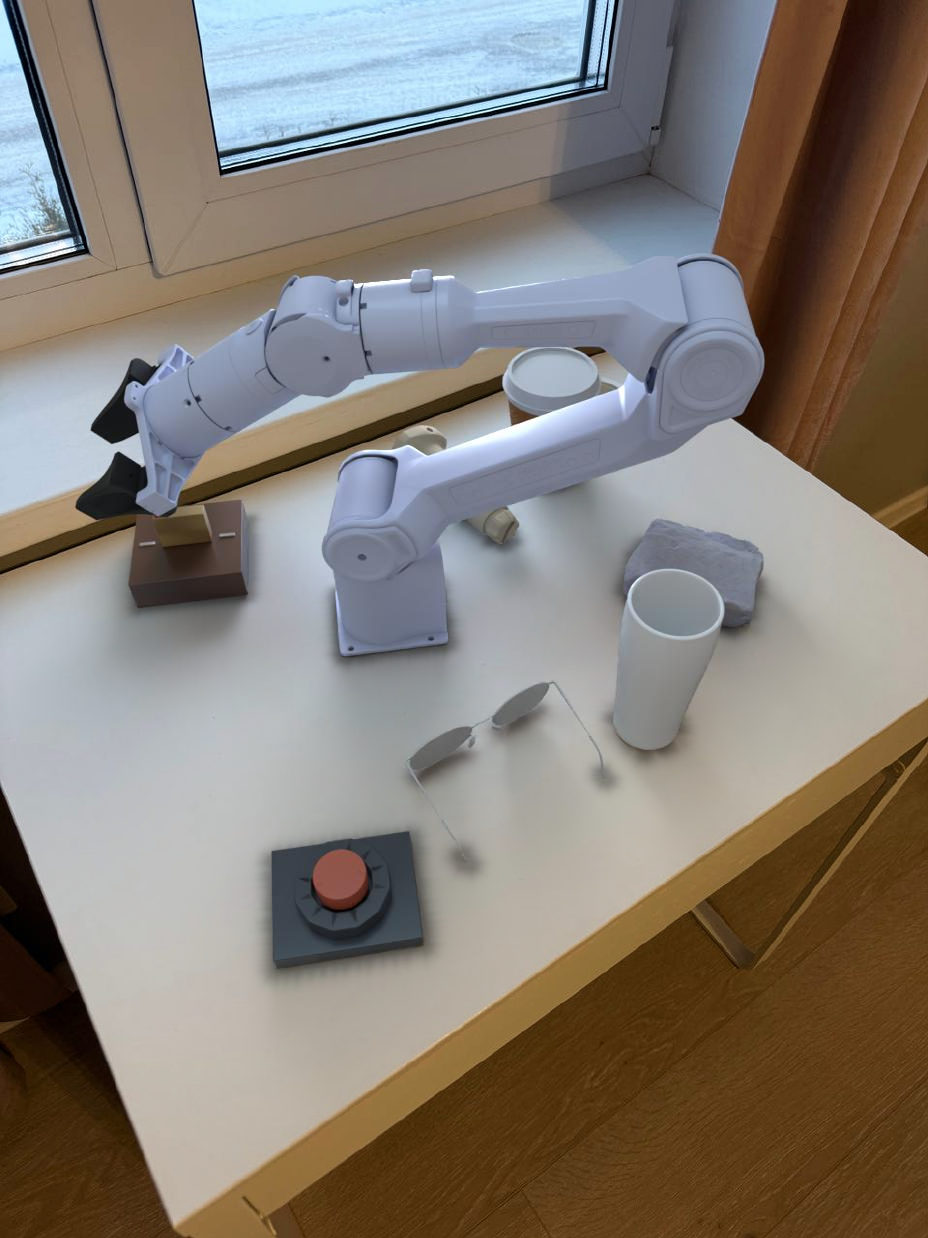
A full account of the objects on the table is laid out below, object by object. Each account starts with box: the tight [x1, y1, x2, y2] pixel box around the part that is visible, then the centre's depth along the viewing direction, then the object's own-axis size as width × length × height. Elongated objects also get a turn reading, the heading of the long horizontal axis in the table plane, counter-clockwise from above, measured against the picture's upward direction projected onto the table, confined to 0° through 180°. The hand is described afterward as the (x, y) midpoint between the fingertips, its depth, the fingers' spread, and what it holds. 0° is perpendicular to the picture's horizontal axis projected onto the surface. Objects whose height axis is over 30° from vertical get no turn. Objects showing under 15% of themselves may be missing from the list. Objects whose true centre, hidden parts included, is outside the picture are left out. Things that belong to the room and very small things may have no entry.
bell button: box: [313, 849, 369, 910], centre depth 61 cm, size 4×4×2 cm
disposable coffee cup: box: [502, 347, 603, 427], centre depth 90 cm, size 10×10×12 cm
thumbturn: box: [152, 505, 212, 547], centre depth 82 cm, size 4×1×4 cm, turn 99°
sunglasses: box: [404, 679, 606, 862], centre depth 68 cm, size 14×8×5 cm, turn 122°
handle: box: [391, 424, 520, 545], centre depth 89 cm, size 5×6×15 cm
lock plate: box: [127, 499, 249, 608], centre depth 84 cm, size 10×10×3 cm
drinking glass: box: [612, 569, 724, 751], centre depth 67 cm, size 7×7×15 cm
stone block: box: [622, 518, 765, 628], centre depth 82 cm, size 12×5×10 cm
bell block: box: [270, 830, 425, 969], centre depth 62 cm, size 10×8×3 cm
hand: (94, 471), depth 69 cm, fingers open, 7 cm apart
